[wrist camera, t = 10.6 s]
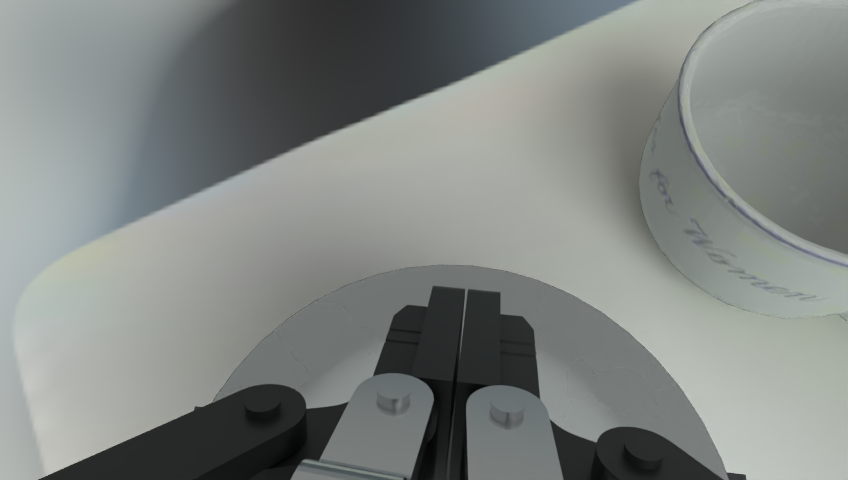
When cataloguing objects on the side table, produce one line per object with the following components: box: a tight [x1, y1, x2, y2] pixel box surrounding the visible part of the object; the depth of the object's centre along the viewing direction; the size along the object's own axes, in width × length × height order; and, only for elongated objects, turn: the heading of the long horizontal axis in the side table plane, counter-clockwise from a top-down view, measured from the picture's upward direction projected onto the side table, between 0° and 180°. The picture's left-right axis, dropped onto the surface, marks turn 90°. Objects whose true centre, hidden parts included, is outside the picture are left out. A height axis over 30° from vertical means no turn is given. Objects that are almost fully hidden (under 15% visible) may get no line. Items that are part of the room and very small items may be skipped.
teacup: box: [639, 0, 848, 321], centre depth 22 cm, size 14×11×8 cm
